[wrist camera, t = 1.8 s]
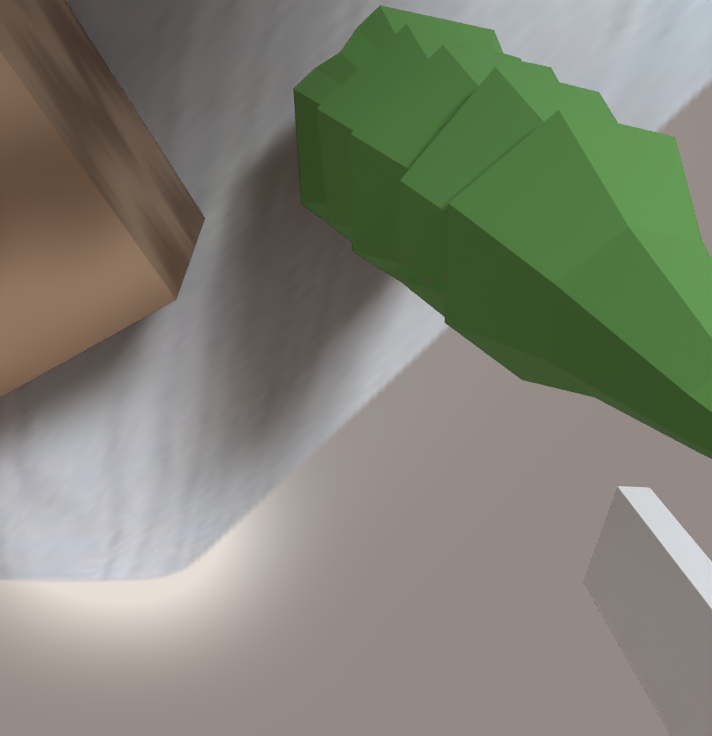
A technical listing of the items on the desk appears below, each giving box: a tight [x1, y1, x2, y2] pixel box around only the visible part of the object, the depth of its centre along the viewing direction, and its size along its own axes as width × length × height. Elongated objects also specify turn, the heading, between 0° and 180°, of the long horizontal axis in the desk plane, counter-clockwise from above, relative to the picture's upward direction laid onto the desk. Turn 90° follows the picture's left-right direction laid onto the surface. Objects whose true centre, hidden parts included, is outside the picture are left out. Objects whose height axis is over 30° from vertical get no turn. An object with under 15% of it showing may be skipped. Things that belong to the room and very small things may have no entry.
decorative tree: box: [294, 6, 712, 458], centre depth 20 cm, size 10×9×30 cm
